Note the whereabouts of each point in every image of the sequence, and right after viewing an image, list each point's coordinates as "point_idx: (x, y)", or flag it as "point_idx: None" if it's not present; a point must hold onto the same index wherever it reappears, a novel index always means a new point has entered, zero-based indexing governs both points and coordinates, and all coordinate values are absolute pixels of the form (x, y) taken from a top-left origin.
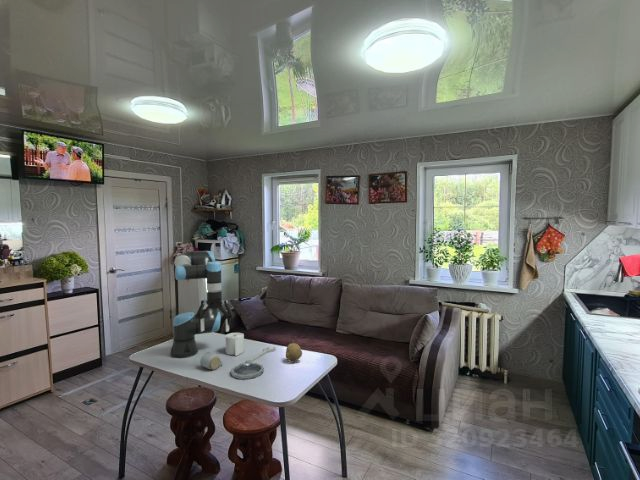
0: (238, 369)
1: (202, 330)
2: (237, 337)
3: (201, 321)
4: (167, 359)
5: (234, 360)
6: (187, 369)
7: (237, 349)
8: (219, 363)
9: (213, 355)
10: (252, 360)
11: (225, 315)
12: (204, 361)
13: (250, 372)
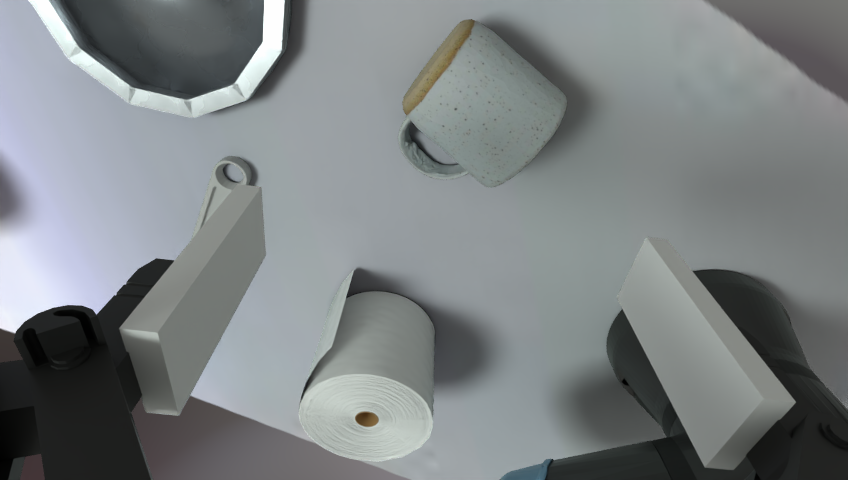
0: (249, 26)
1: (647, 256)
2: (330, 384)
3: (745, 361)
4: (796, 257)
5: (343, 210)
6: (650, 77)
7: (337, 303)
8: (409, 90)
9: (456, 99)
10: (208, 186)
11: (105, 429)
12: (529, 65)
13: None
